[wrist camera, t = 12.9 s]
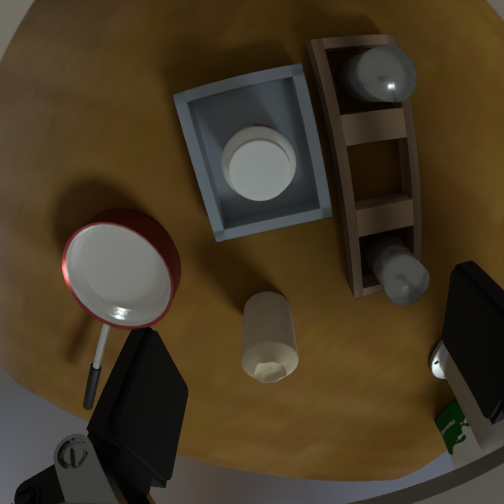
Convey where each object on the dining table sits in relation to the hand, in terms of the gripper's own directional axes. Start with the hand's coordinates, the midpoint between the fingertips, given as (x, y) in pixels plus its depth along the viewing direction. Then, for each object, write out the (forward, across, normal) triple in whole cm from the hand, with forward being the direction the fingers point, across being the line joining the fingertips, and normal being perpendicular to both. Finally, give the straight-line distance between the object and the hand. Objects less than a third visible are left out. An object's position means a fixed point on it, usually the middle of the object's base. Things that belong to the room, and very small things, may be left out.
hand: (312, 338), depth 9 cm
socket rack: (+23, -10, +1) cm, 25 cm away
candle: (+23, +4, +15) cm, 28 cm away
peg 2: (+23, -10, +10) cm, 27 cm away
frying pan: (+23, +24, +13) cm, 35 cm away
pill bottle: (+22, +1, -3) cm, 23 cm away
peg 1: (+23, -10, -8) cm, 26 cm away
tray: (+23, +1, -3) cm, 23 cm away
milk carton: (+24, -29, +54) cm, 66 cm away
